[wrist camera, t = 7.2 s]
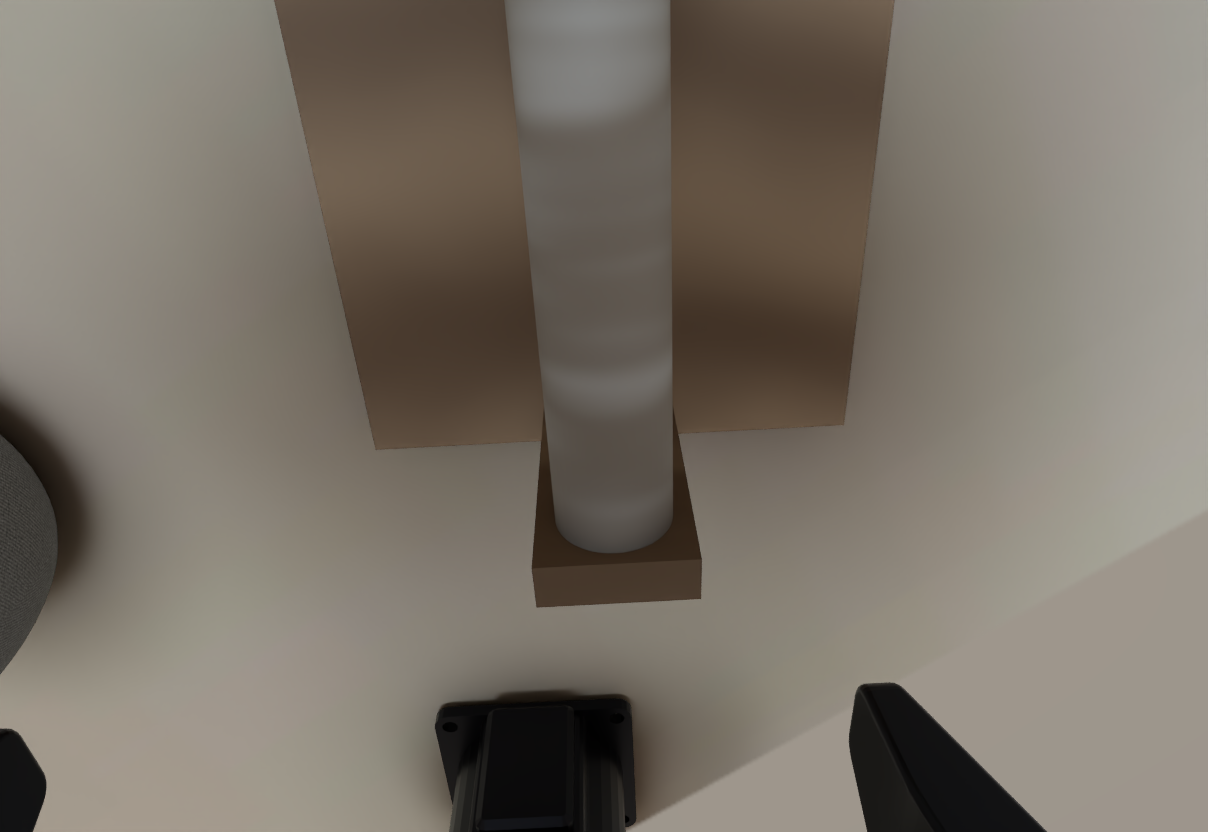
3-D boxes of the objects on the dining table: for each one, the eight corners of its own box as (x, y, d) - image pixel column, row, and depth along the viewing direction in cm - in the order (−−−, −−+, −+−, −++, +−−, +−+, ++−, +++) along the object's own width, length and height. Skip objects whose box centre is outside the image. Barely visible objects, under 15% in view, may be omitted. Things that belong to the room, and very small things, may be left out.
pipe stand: (833, 405, 22) (927, 587, 16) (383, 429, 22) (311, 618, 16) (944, -599, 13) (1262, -1050, 7) (169, -555, 13) (-186, -963, 7)
